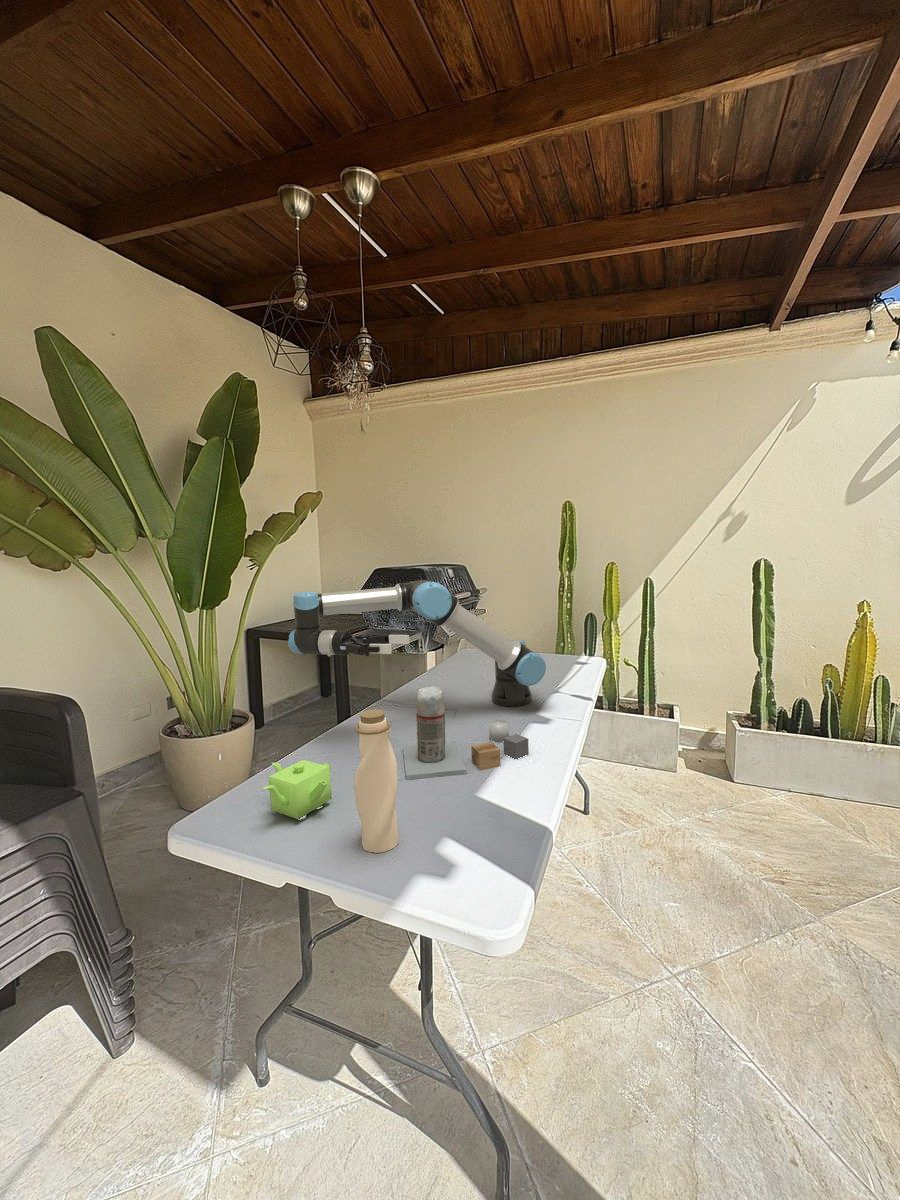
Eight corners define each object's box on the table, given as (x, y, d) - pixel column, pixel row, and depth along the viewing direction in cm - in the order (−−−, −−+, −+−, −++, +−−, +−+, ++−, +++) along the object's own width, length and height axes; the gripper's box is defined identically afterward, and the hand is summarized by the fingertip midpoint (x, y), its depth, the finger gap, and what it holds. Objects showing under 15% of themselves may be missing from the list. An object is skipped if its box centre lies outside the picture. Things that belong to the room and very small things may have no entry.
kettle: (266, 831, 118) (262, 783, 117) (270, 801, 132) (266, 758, 131) (335, 819, 122) (332, 772, 121) (332, 791, 136) (329, 749, 134)
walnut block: (471, 762, 150) (471, 745, 149) (491, 758, 152) (490, 741, 151) (480, 770, 144) (479, 753, 143) (500, 766, 146) (499, 749, 145)
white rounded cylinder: (487, 736, 168) (487, 720, 168) (506, 734, 169) (505, 719, 168) (491, 743, 162) (491, 727, 162) (511, 741, 163) (510, 725, 162)
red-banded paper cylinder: (451, 753, 153) (448, 685, 150) (439, 765, 145) (435, 694, 143) (425, 749, 156) (422, 683, 154) (412, 761, 149) (408, 691, 146)
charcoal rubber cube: (503, 754, 154) (503, 738, 153) (516, 750, 157) (516, 733, 156) (516, 760, 150) (515, 743, 149) (528, 755, 153) (528, 738, 152)
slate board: (403, 750, 160) (402, 746, 160) (455, 745, 162) (455, 741, 162) (406, 779, 140) (406, 775, 140) (466, 773, 142) (466, 769, 142)
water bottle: (360, 828, 117) (352, 706, 114) (401, 825, 118) (394, 703, 115) (356, 856, 107) (347, 722, 104) (401, 852, 108) (393, 719, 105)
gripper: (356, 646, 176) (416, 647, 170) (315, 664, 153) (383, 667, 146) (354, 623, 175) (414, 624, 169) (313, 638, 152) (381, 640, 145)
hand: (400, 644), depth 158 cm, fingers open, 13 cm apart
